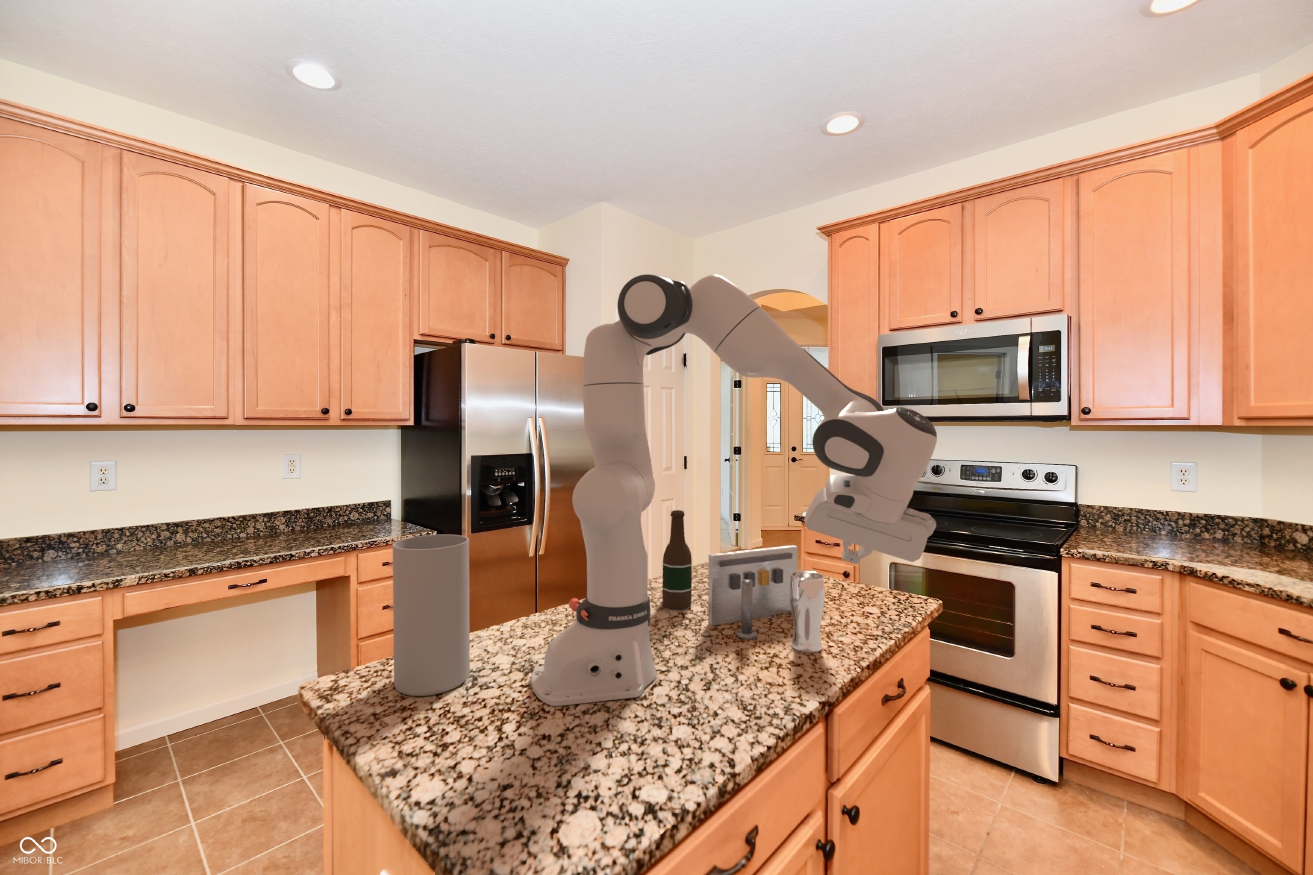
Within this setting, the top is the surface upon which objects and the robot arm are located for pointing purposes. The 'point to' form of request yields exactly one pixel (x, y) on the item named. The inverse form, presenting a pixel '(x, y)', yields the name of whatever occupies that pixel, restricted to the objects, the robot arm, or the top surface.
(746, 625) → the post left
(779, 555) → the panel
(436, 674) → the cylinder vase
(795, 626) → the beer glass
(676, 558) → the beer bottle
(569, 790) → the top surface
